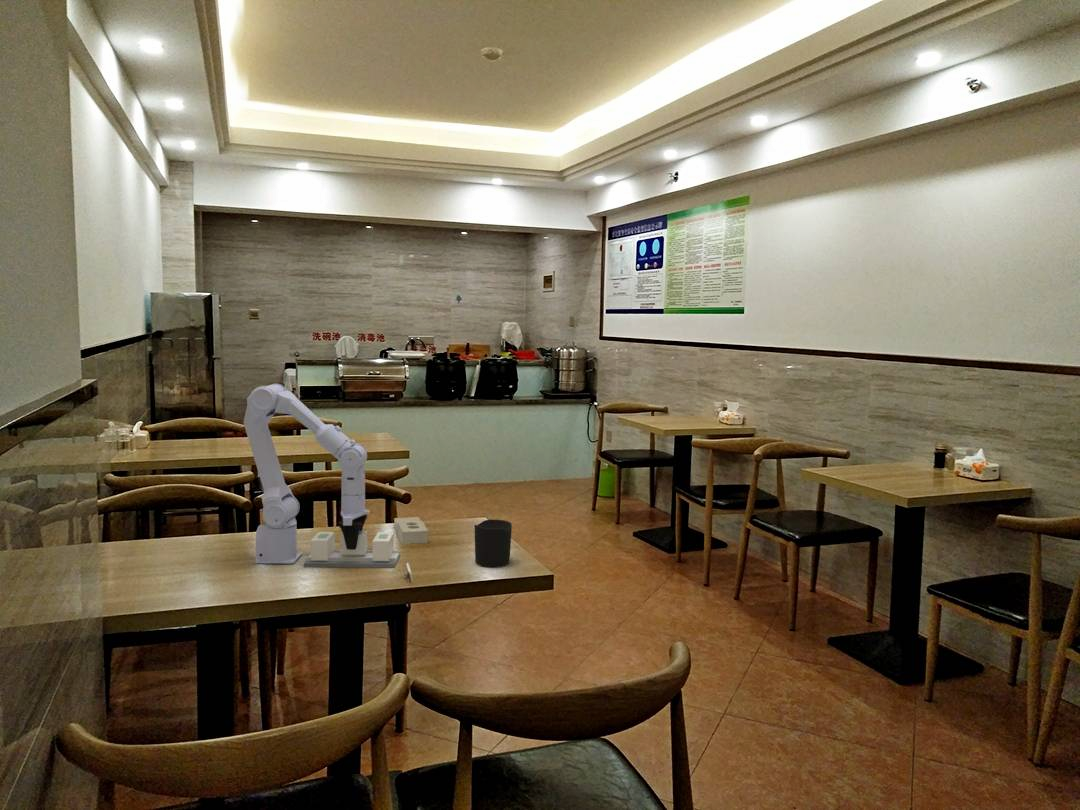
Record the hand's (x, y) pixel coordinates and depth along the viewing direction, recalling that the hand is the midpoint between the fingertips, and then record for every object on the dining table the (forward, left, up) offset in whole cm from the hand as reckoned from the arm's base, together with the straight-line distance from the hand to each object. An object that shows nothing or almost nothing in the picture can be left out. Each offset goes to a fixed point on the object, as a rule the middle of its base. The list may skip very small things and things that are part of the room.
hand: (353, 546), depth 188 cm
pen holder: (+35, 0, -4) cm, 35 cm away
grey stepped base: (0, 0, -4) cm, 4 cm away
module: (0, 0, -2) cm, 2 cm away
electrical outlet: (+11, +25, -4) cm, 28 cm away
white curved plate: (+14, -12, -4) cm, 19 cm away
